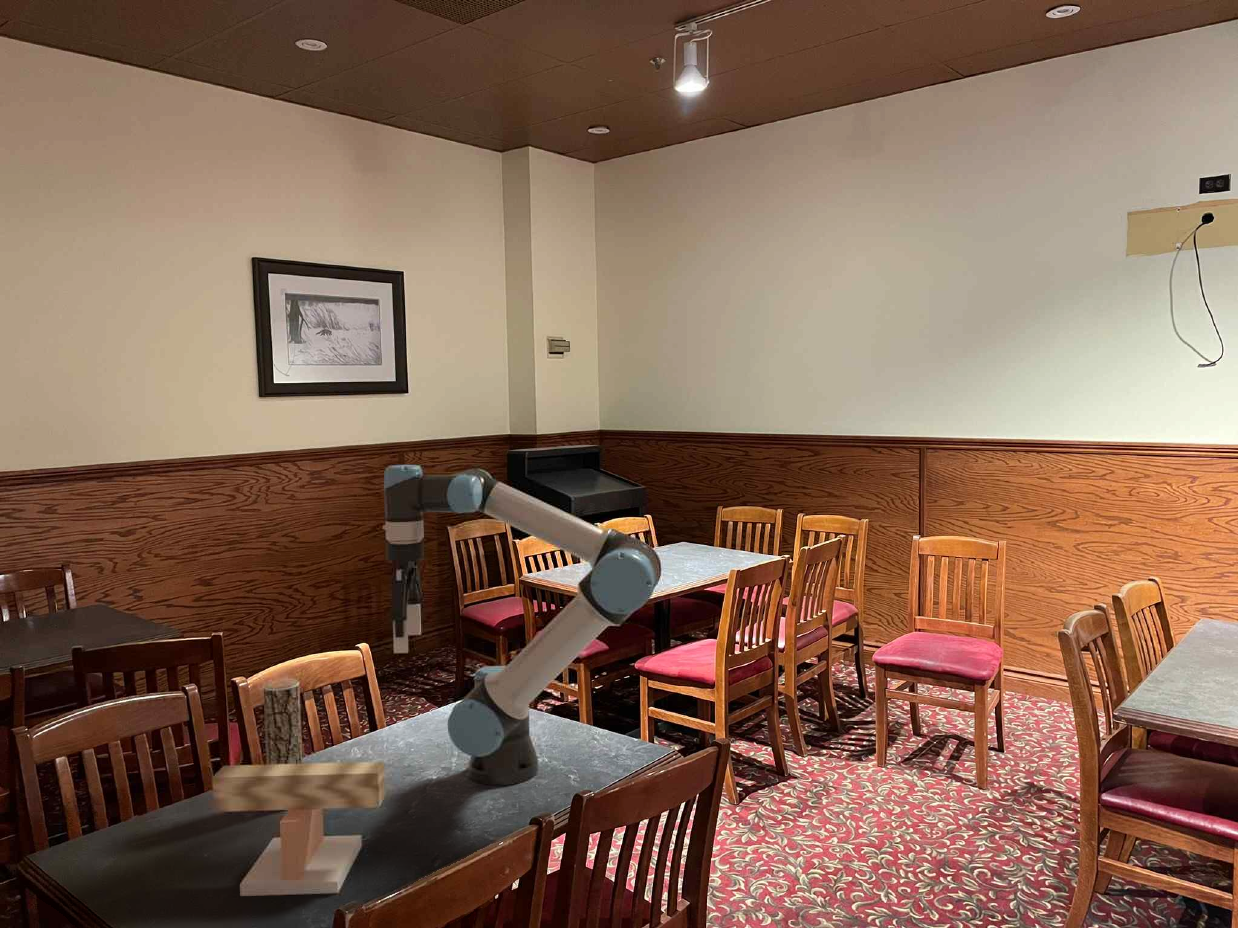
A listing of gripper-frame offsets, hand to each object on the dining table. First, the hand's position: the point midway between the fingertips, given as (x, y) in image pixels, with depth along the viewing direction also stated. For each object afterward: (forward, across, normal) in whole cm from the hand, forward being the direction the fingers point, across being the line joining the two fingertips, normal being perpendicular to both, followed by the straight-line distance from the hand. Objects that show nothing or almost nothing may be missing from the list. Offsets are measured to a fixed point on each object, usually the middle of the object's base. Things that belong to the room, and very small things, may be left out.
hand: (407, 643), depth 187 cm
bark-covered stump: (+32, +3, -25) cm, 41 cm away
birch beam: (+20, +30, -13) cm, 38 cm away
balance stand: (+32, +30, -13) cm, 46 cm away
